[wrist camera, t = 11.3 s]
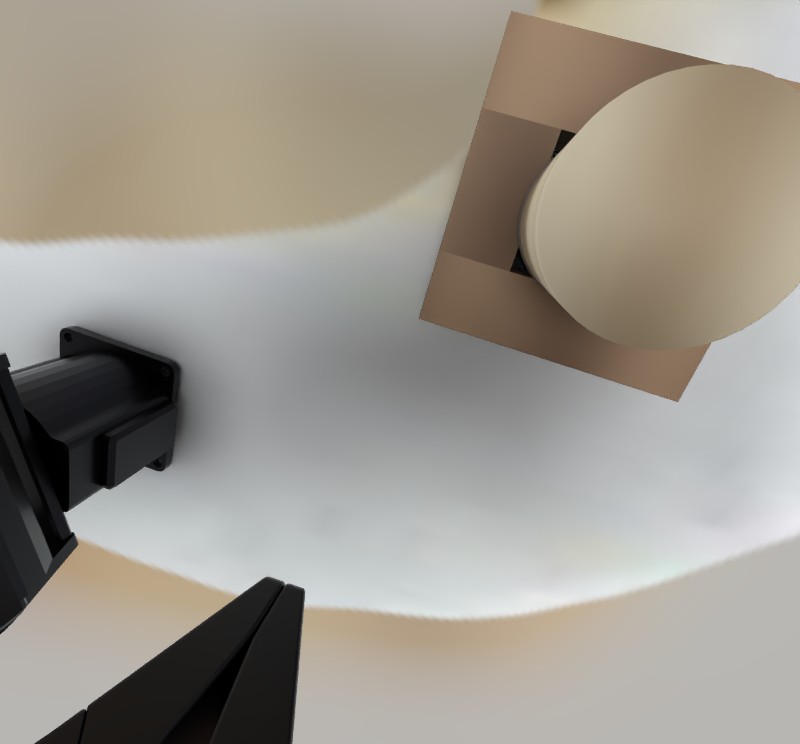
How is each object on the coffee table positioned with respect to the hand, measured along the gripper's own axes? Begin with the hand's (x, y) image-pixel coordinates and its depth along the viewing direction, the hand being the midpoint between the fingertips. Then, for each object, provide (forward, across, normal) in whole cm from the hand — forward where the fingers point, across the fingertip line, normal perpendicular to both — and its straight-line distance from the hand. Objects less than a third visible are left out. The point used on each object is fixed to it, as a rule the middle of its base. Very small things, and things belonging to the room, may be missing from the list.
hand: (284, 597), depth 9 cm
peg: (+12, -5, -9) cm, 16 cm away
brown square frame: (+12, -5, -9) cm, 16 cm away
